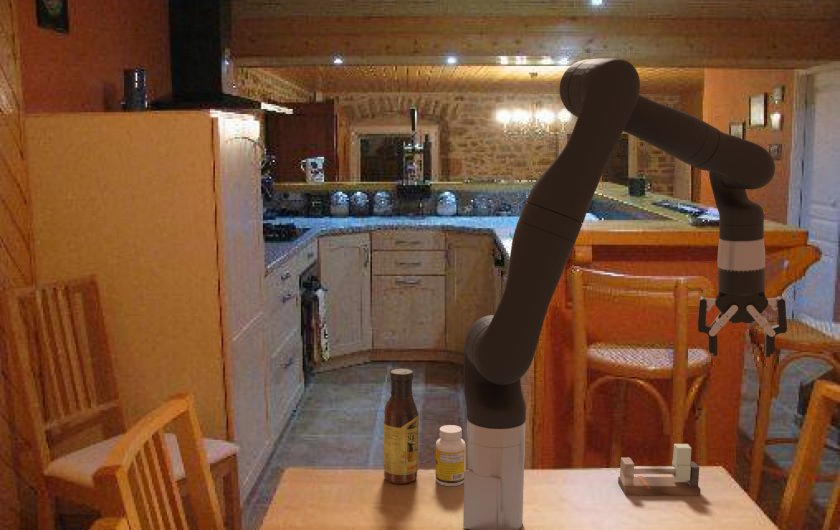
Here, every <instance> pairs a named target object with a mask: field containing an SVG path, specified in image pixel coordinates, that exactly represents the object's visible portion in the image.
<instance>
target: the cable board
mask: <svg viewBox="0 0 840 530" xmlns="http://www.w3.org/2000/svg"><path fill="white" fill-rule="evenodd" d="M690 466H691V471H690V481H686V480H675V478H674V477H673V476H642V475H672V474H676V467H672V466H669V465H668V466H663V465H662V466H659V465H658V466H652V465H651V466H650V465H649V466H648V465H647V466H644V465H643V466H641V465H639V466H638V465H636V466H635V463H634V461H633V460H632V458H631V457H620V467H619V468H620V469H619V476H618V478H617V484H618V485H619V487H620V488H621V490H622V492H623V494H624V495H625V496H701V488H700V486H699V479H700V466H699V465H698V463H696V462H695V461H690ZM635 475H638V476H635ZM639 475H641V476H639Z"/></svg>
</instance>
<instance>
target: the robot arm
mask: <svg viewBox="0 0 840 530" xmlns="http://www.w3.org/2000/svg"><path fill="white" fill-rule="evenodd" d="M559 82H560V83H559V88H558V89H559V90H558V91H559V96H560V101H561V102H562V104H563V107H564V108H565V109H566V110H567V111H568V112H569V114H571V115H572V116H575V117H576V122H575V124H574V127H573V130H572V133H571V135H570V136H569V139H568V141H567V143H566V144H565V146H564V148H563V149H562V150H561V152H560V153H559V154H558V156H557V157H556V158H555V159H554V161H553V162H552V163H551V164H550V165H549V166H548V167H547V168H546V170H545V171H544V172H543V173H542V174H541V175H540V177H539V178H538V179H537V181H536V182H535V184H534V185H533V186H532V188H531V190H530V191H529V194H528V195H527V198H526V200H525V202H524V205H523V207H522V210H521V212H520V214H519V218H518V220H517V223H516V227H515V228H514V229H515V230H514V232H513V237H512V242H511V248H510V253H509V254H510V255H509V262H508V263H509V264H508V272H507V279H506V283H505V286H504V290H503V293H502V297H501V299H500V301H499V303H498V306H497V307H496V310H495V312H494V314H490V315H485V316H482V317H480V318H478V320H476V321H474V322H473V324H472V325H471V326H470V327H469V329H468V331H467V334H466V336H465V338H464V339H465V340H464V347H463V393H464V400H465V404H466V405H465V407H466V441H465V444H466V471H465V472H464V483H463V513H462V514H463V515H462V516H463V517H462V518H463V524H462V525H463V526H462V528H464V529H466V530H520V529H521V528H522V526H523V521H524V520H523V519H524V518H523V515H524V490H525V489H524V482H525V481H524V479H525V452H526V451H525V450H526V419H527V418H526V417H527V416H526V415H527V407H526V401H525V398H524V395H523V390H522V384H521V378H523V376H525V374H526V373H528V371H529V369H530V368H531V365H532V364H533V363H532V362H533V361H534V357H535V354H536V351H537V348H538V344H539V340H540V336H541V333H542V330H543V326H544V322H545V320H546V319H545V318H546V315H547V312H548V309H549V307H550V304H551V301H552V298H553V296H554V294H555V291H556V289H557V287H558V284H559V283H560V280H561V277H562V275H563V273H564V270H565V267H566V266H567V262H568V261H569V258H570V255H571V253H572V250H573V249H574V247H575V245H576V241H577V239H578V236H579V234H580V231H581V229H582V226H583V224H584V221H585V219H586V217H587V213H588V211H589V207H590V205H591V203H592V200H593V198H594V196H595V193H596V191H597V188H598V186H599V183H600V181H601V179H602V176H603V174H604V172H605V168H606V167H607V163H608V162H609V160H610V158H611V156H612V153H613V152H614V149H615V147H616V145H617V144H618V141H619V140H620V138H621V136H622V135H623V132H624V133H627V134H629V135H631V136H634V137H635V138H638V139H639V140H640V141H641V140H642V141H644V142H646V143H647V144H650V145H651V146H653V147H655V148H657V149H659V150H660V151H663V152H664V153H665V154H668V155H670V156H671V157H674V158H675V159H677V160H679V161H681V162H683V163H685V164H687V165H689V166H690V167H693V168H695V169H697V170H700V171H707V172H708V175H709V176H708V178H709V182H710V186H711V190H712V193H713V197H714V203H715V206H716V207H717V211H718V215H719V218H718V220H719V221H718V222H719V223H718V224H719V225H718V228H719V229H718V230H719V231H718V233H719V235H718V237H719V239H718V247H717V259H716V261H717V295H716V297H713V298H712V297H711V298H710V297H706V296H704V295H701V296H699V297H698V310H697V311H698V313H697V330H698V332H699V333H704V334H707V336H708V345H707V346H708V352H709V353H710V354H712V357H718V332H720V330H721V329H722V328H723V327H724V326H725V325H726V324H727V323H728V322H729V323H731V324H740V323H744V324H752V323H754V322H756V323H757V324H758V325H759V326H760V327H761V328H762V329H763V330H764V332H765V333H764V356H765V358H771V355H774V353H775V351H776V349H775V345H776V344H775V341H776V336H777V335H779V334H785V333H787V331H788V324H787V323H788V322H787V308H786V307H787V305H786V300H785V298H784V297H783V296H782V295H778V296H776V297H769V298H767V296H766V247H765V238H764V232H765V231H764V230H765V229H764V228H765V226H764V224H765V223H764V222H765V221H764V220H765V219H764V218H765V216H764V215H765V214H764V209H763V207H762V206H761V205H760V204H758V203H757V202H754V201H752V200H750V199H749V197H748V194H747V191H746V190H758V189H762V188H764V187H765V186H767V185H768V184H769V183H771V181H772V179H773V178H774V176H775V173H776V172H775V171H776V164H775V160H774V158H773V156H772V155H771V153H770V152H769V151H768V150H767V149H766V148H764V147H763V146H761V145H759V144H757V143H754V142H752V141H749V140H746V139H744V138H741V137H739V136H734V135H733V134H728V133H725V132H723V131H721V130H720V129H719V128H716V127H715V126H713V125H711V124H710V123H707V122H706V121H704V120H702V119H701V118H699V117H696V116H695V115H692V114H690V113H687V112H685V111H683V110H680V109H678V108H674V107H671V106H668V105H665V104H662V103H660V102H658V101H655V100H652V99H650V98H648V97H645V96H643V95H642V94H640V91H641V90H640V89H641V80H640V76H639V72H638V71H637V69H636V67H635V66H634V64H632V63H631V62H629V61H628V60H626V59H621V58H613V57H612V58H611V57H608V58H607V57H606V58H604V57H603V58H602V57H601V58H587V59H586V58H585V59H582V60H579V61H576V62H575V63H573V64H572V65H570V66H569V67H568V68H567V69H566V70H565V71H564V73H563V75H562V77H561V79H560V81H559ZM714 305H715V306H716V308H717V309H718V310H719V313H718V315H717V316H716V317H715V319H714V320H713V322H712V323H711V324H710V325H709V324H707V312H709V311H711V309H712V307H713V306H714ZM768 306H771V308H772V310H773V311H775V312H776V324H775V325H771V324H770V322H769V321H768V320H767V318H766V317H765V315H763V312H764V311H765V310H766V308H767V307H768Z"/></svg>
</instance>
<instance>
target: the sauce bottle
mask: <svg viewBox="0 0 840 530" xmlns="http://www.w3.org/2000/svg"><path fill="white" fill-rule="evenodd" d="M389 378H390V387H391V388H390V397H389V399H388V401H387V402H386V403H385V406H384V411H383V412H384V421H383V476H384V479H385V480H386V481H387V482H389V483H392V484H398V485H404V484H408V483H409V484H410V483H413V482H414V481H416V479H417V477H418V471H419V431H420V429H419V424H420V423H419V421H420V419H419V418H420V417H419V415H420V414H419V411H418V408H417V405H416V403H415V400H414V396H413V379H414V373H413V370H411V369H407V368H397V369H396V368H394V369H392V370H391V371H390V377H389Z"/></svg>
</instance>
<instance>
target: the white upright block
mask: <svg viewBox="0 0 840 530" xmlns="http://www.w3.org/2000/svg"><path fill="white" fill-rule="evenodd" d="M672 454H673V455H672V461H671V462H672V463H671V464H672V465H671V467H676V474H671V477H674V478H675V480H686V481H690V471H691V466H690V462H692V458H691V457H692V447H691V446H690V444H689V443H673V453H672Z"/></svg>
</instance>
